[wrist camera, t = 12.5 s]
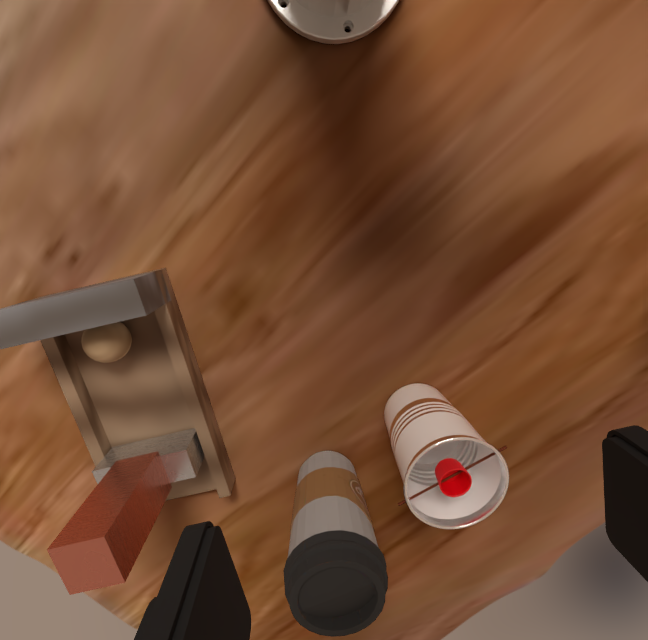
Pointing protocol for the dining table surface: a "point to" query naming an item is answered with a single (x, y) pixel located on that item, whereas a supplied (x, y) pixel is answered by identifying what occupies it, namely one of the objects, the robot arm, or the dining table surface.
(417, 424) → the striped paper cup
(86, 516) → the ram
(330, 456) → the coffee cup
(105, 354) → the walnut
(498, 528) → the dining table surface
